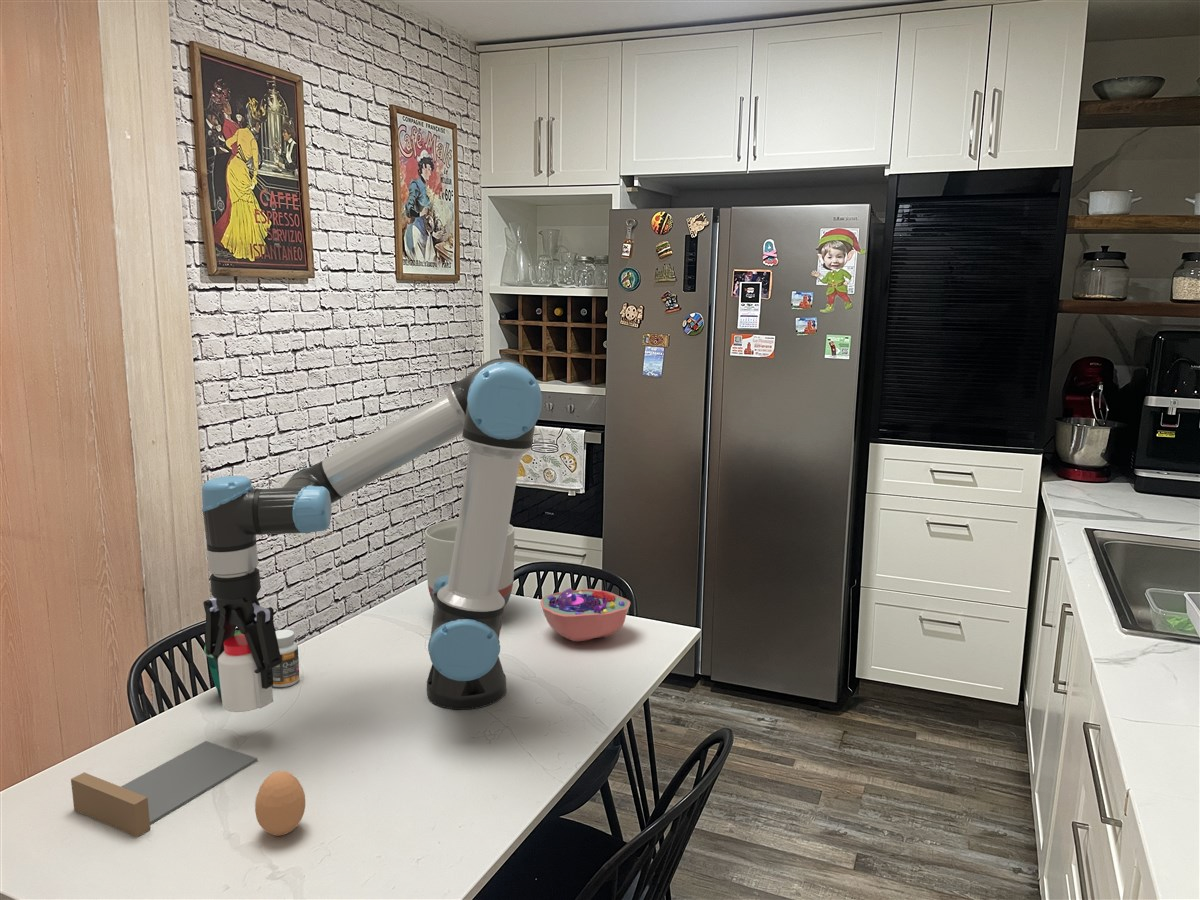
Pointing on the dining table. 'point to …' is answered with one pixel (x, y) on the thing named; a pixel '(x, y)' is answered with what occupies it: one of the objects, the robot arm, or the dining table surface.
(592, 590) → the cell model
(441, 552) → the planter
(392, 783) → the dining table surface
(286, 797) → the egg
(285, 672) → the pill bottle
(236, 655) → the pill bottle
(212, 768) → the track
